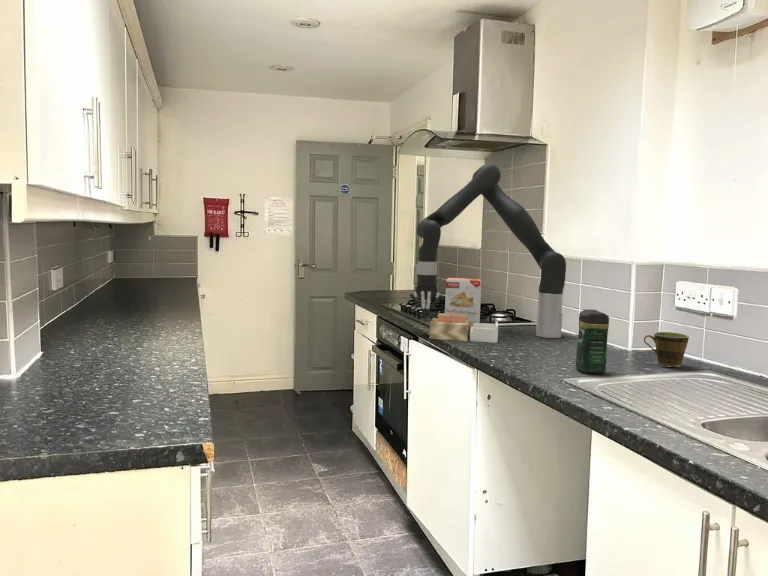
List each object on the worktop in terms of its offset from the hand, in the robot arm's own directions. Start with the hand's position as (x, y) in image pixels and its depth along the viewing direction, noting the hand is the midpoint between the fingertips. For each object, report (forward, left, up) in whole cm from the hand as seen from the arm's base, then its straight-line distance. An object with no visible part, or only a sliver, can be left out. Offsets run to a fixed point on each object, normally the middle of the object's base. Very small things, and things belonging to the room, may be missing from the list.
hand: (425, 318), depth 233 cm
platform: (-9, 0, -7) cm, 11 cm away
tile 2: (-13, 0, -1) cm, 13 cm away
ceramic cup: (-79, +27, -7) cm, 84 cm away
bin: (-22, 0, -7) cm, 23 cm away
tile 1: (-7, 0, -1) cm, 7 cm away
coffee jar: (-54, +42, -7) cm, 69 cm away
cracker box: (-13, -19, -7) cm, 24 cm away
